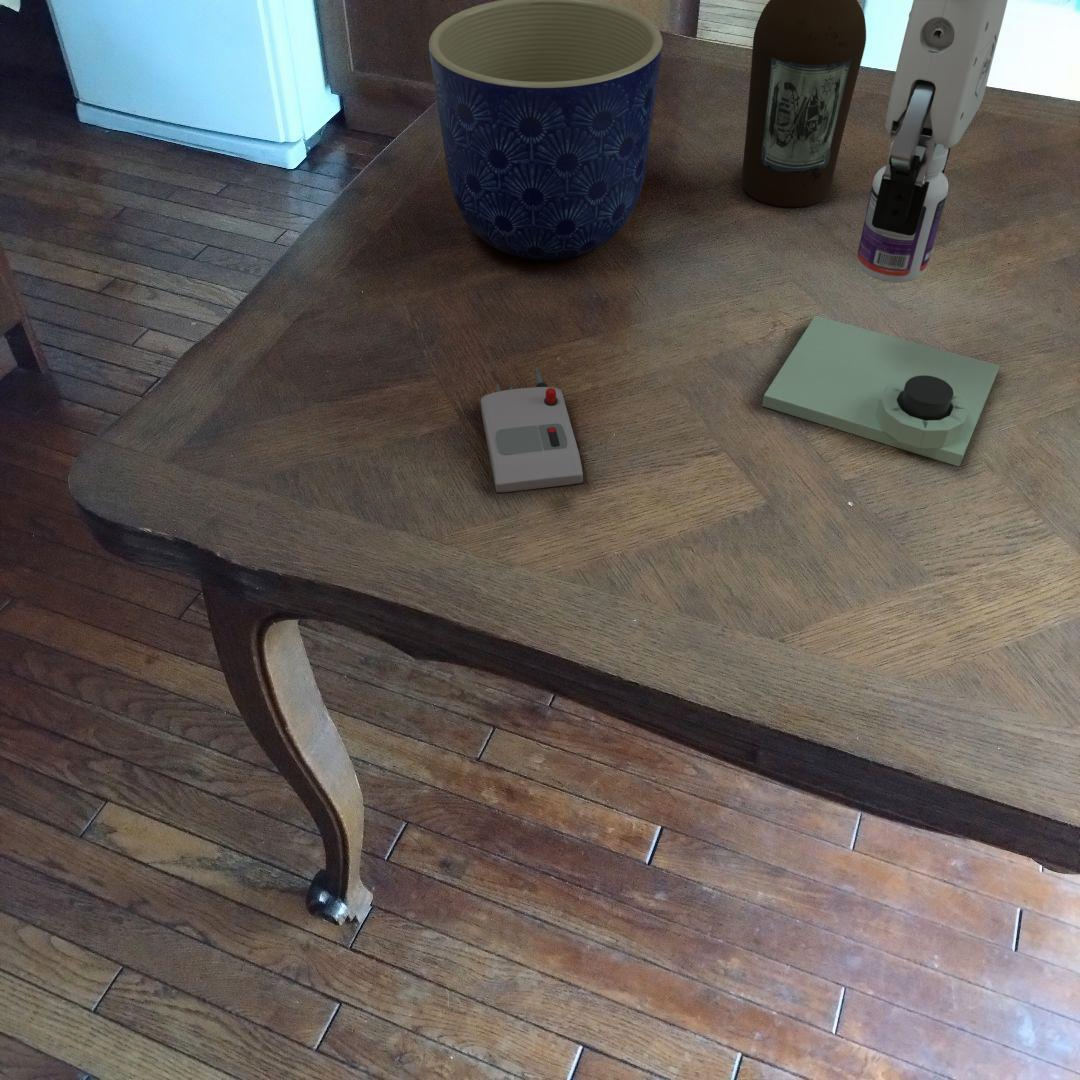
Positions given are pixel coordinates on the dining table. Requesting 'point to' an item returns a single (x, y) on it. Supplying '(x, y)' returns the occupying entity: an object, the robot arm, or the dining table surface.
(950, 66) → the robot arm
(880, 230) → the pill bottle
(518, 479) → the remote control
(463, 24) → the planter
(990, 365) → the green dial board
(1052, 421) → the dining table surface
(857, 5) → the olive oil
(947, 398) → the tare button
